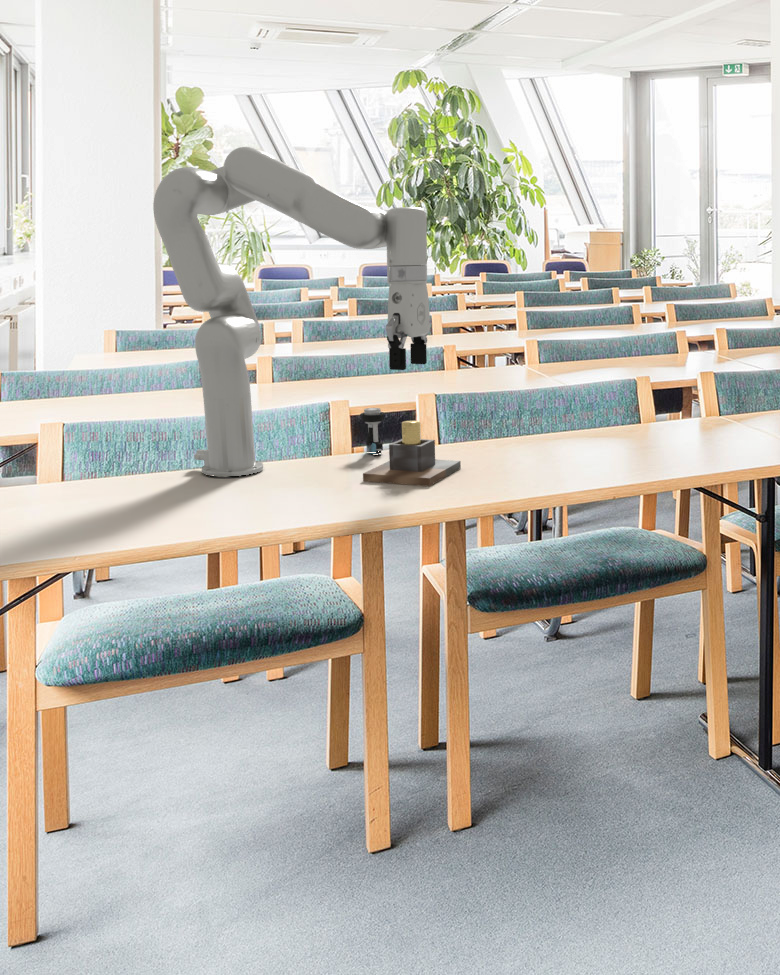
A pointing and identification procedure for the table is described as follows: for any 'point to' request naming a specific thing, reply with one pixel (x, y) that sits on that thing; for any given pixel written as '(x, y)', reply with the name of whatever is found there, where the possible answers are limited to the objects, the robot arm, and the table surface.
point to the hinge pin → (411, 433)
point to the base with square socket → (412, 465)
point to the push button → (373, 429)
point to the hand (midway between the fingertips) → (408, 366)
